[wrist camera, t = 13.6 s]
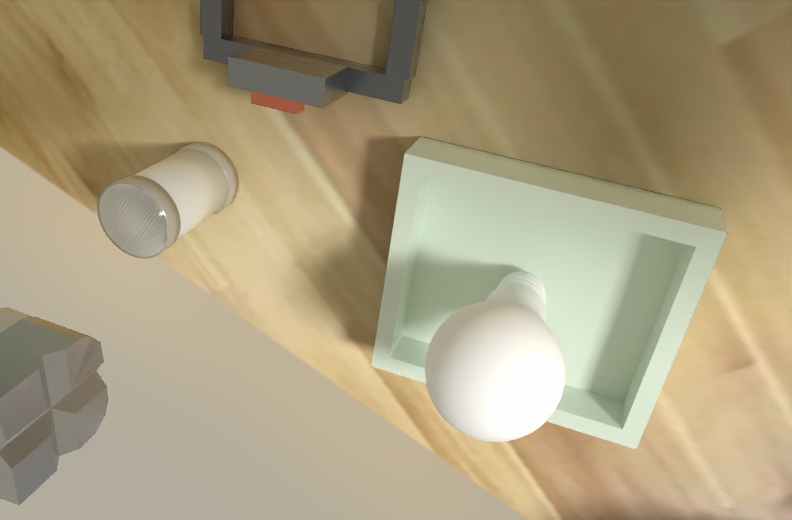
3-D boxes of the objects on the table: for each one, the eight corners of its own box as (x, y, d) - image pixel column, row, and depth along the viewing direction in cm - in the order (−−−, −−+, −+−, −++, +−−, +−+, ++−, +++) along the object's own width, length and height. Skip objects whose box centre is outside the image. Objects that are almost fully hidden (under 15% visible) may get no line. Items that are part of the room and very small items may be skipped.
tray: (720, 208, 33) (727, 232, 30) (635, 414, 39) (636, 449, 36) (420, 136, 36) (404, 153, 33) (387, 338, 42) (371, 366, 39)
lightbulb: (520, 351, 39) (475, 492, 30) (447, 274, 38) (377, 393, 29) (608, 296, 35) (588, 435, 26) (529, 211, 35) (481, 323, 26)
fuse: (239, 151, 39) (168, 193, 33) (237, 216, 41) (170, 267, 35) (175, 134, 40) (94, 173, 34) (176, 199, 42) (100, 246, 36)
